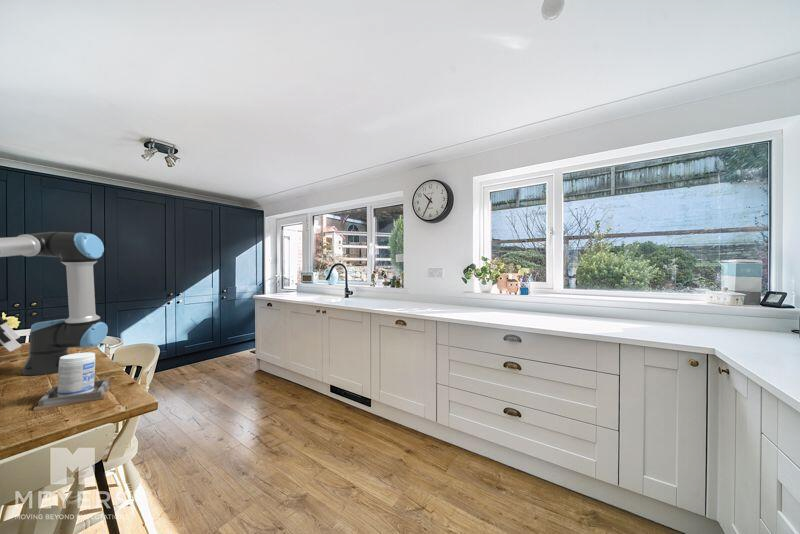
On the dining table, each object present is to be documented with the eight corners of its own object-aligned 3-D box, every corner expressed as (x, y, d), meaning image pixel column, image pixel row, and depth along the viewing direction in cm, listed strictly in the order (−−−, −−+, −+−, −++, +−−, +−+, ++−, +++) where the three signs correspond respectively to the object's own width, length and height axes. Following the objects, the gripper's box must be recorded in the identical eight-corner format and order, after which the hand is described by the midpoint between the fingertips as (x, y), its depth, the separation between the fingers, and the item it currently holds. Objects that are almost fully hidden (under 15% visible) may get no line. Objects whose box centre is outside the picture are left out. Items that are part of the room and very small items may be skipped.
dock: (50, 393, 115) (51, 386, 115) (111, 384, 125) (111, 378, 125) (33, 410, 102) (33, 402, 102) (103, 399, 112) (103, 391, 112)
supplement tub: (89, 396, 112) (91, 356, 112) (52, 401, 107) (54, 360, 107) (97, 387, 120) (98, 350, 120) (62, 392, 115) (64, 353, 115)
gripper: (-52, 294, 100) (0, 342, 110) (-62, 306, 85) (-1, 361, 95) (-19, 282, 105) (28, 329, 115) (-23, 292, 90) (32, 345, 100)
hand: (15, 344), depth 105 cm, fingers open, 13 cm apart
